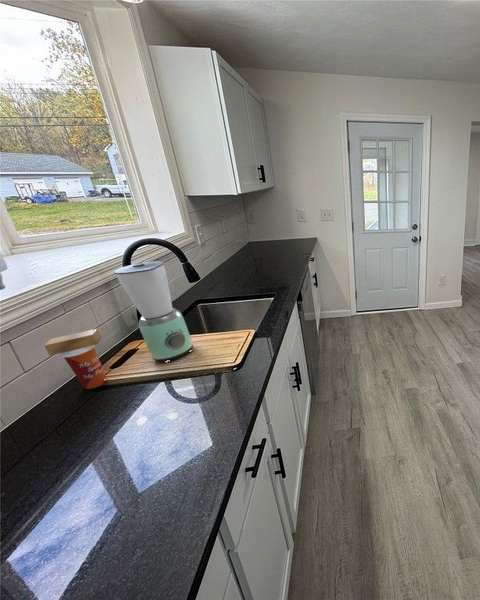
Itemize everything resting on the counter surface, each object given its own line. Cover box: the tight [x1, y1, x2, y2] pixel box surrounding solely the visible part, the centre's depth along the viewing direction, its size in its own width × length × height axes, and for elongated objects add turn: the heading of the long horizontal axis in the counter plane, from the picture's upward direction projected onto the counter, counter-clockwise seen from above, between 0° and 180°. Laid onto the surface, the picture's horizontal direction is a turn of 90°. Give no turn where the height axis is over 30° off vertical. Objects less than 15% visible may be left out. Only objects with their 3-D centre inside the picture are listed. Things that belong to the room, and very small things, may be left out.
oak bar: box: [43, 328, 103, 357], centre depth 97 cm, size 11×5×4 cm, turn 120°
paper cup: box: [60, 345, 108, 390], centre depth 100 cm, size 8×8×14 cm
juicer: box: [113, 260, 194, 363], centre depth 111 cm, size 19×13×35 cm
